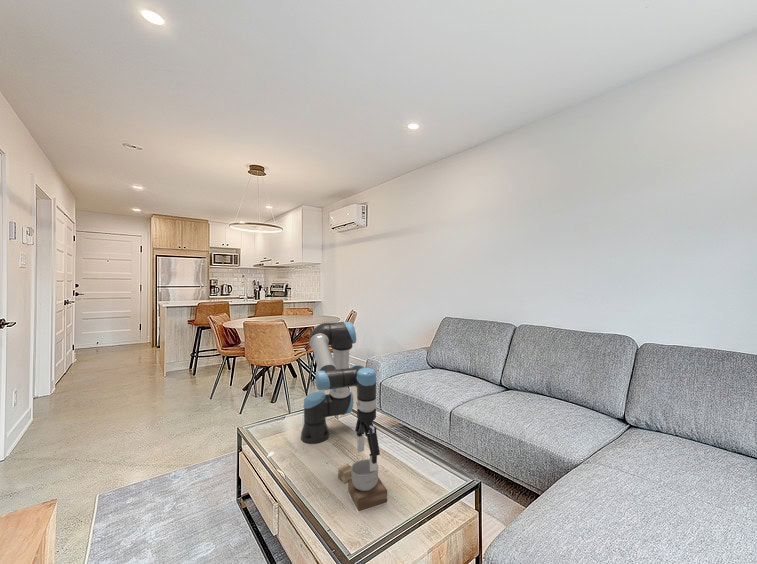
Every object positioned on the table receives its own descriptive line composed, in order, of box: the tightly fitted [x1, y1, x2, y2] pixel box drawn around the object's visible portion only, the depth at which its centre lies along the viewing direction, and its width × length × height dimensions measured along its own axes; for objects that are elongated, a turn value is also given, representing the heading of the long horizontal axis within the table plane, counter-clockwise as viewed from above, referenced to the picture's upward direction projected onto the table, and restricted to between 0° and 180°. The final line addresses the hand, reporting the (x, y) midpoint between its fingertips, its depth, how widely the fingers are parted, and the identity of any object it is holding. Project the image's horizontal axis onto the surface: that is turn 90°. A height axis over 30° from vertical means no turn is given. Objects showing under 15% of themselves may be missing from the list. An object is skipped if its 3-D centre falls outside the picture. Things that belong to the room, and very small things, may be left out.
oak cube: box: [337, 463, 352, 484], centre depth 144 cm, size 5×5×5 cm
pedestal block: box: [347, 476, 388, 513], centre depth 132 cm, size 12×12×5 cm
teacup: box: [350, 458, 379, 491], centre depth 132 cm, size 14×11×8 cm
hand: (366, 460), depth 132 cm, fingers open, 13 cm apart
